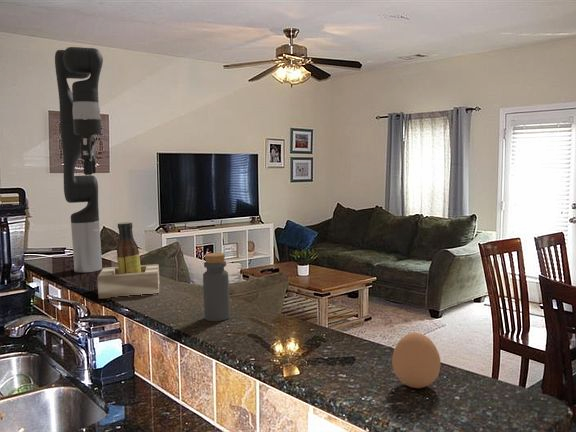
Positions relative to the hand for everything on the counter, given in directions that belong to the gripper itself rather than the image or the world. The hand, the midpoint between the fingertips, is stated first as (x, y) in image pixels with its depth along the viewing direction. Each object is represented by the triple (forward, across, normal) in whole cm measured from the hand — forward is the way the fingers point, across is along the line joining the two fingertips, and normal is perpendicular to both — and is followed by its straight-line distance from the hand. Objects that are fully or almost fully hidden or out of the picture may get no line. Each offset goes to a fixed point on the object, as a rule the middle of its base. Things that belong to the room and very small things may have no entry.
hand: (90, 174), depth 159 cm
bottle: (+32, +46, +32) cm, 65 cm away
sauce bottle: (+34, +9, +10) cm, 37 cm away
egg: (+31, +94, +58) cm, 115 cm away
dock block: (+34, +10, +10) cm, 36 cm away
